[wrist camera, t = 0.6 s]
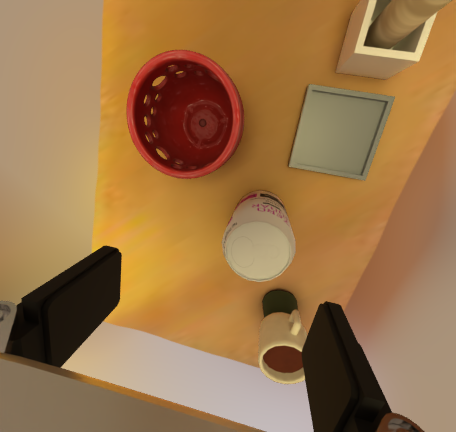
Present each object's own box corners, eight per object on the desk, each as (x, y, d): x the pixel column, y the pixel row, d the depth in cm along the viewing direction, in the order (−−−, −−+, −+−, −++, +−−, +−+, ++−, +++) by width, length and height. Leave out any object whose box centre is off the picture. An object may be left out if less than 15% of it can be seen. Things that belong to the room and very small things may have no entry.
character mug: (286, 330, 44) (294, 401, 32) (251, 317, 45) (246, 382, 33) (310, 285, 41) (329, 345, 29) (272, 271, 41) (274, 324, 29)
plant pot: (154, 101, 36) (103, 80, 25) (232, 64, 33) (214, 21, 22) (185, 180, 39) (153, 194, 28) (260, 153, 36) (258, 156, 25)
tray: (307, 86, 32) (309, 84, 31) (388, 99, 31) (395, 96, 30) (287, 165, 36) (288, 166, 34) (360, 179, 35) (365, 180, 33)
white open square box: (351, 13, 29) (376, -25, 23) (405, 20, 29) (448, -18, 22) (335, 72, 31) (354, 52, 25) (385, 79, 31) (418, 61, 24)
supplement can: (238, 237, 40) (223, 286, 26) (234, 190, 38) (216, 217, 24) (285, 236, 39) (297, 287, 25) (284, 187, 37) (297, 213, 23)
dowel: (361, 27, 29) (431, -61, 17) (391, 30, 29) (485, -56, 16) (351, 59, 30) (411, 0, 18) (380, 63, 30) (461, 5, 18)
